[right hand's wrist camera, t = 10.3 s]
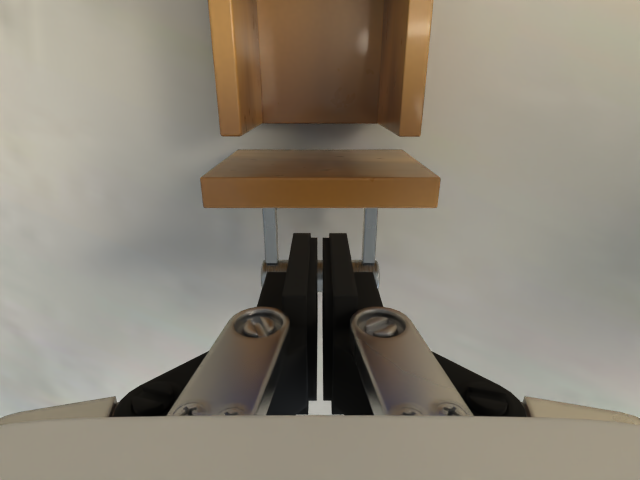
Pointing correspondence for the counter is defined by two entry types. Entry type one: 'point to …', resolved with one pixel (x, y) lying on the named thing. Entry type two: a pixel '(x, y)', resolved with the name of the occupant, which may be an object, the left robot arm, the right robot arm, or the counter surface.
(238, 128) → the drawer
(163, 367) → the counter surface
